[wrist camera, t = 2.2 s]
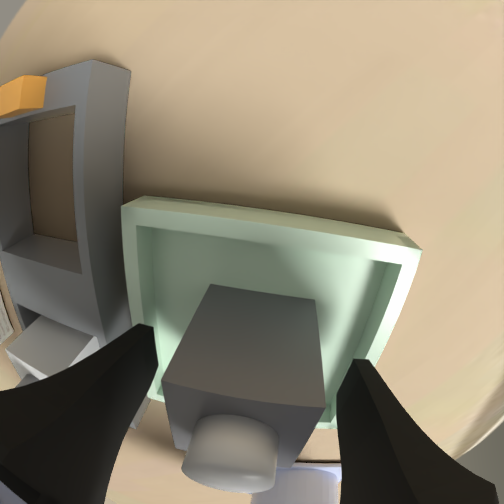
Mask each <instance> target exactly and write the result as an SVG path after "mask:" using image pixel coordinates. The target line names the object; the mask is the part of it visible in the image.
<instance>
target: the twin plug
mask: <svg viewBox="0 0 504 504" xmlns="http://www.w3.org/2000/svg"><path fill="white" fill-rule="evenodd" d="M99 349H100V347H99V343H98V340H97V337H95V336H92V335H90V334H87V333H84V332H82V331H79V330H76V329H74V328H71V327H69V326H66V325H64V324H62V323H59V322H57V321H54V320H52V319H50V318H47V317H45V316H43V315H41V316H40V317H38V318H37V319H36V320H35V321H34V322H33V323H32V324H31V325H30V326H29V327H28V328H26V329H25V330H24V331H23V332H22V333H21V334H20V335H19V336H18V337H17V338H16V339H15V340H14V341H13V342H12V343H11V344H10V345H9V346H8V347H7V348H6V349H5V350H6V352H7V354H8V356H9V358H10V360H11V362H12V364H13V366H14V367H15V369H16V371H17V373H18V375H19V376H20V378H21V381H20V382H19V384H18V385H17V386H16V387H15V388H17V387H21V386H24V385H27V384H30V383H33V382H36V381H39V380H41V379H44V378H47V377H49V376H51V375H54V374H56V373H58V372H60V371H62V370H64V369H66V368H68V367H70V366H72V365H74V364H76V363H77V362H79V361H81V360H83V359H84V358H86V357H88V356H89V355H91V354H93V353H94V352H96V351H98V350H99Z"/></svg>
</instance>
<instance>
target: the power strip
mask: <svg viewBox="0 0 504 504" xmlns="http://www.w3.org/2000/svg"><path fill="white" fill-rule="evenodd" d="M130 77H131V71H129V70H126V69H123V68H120V67H117V66H114V65H110V64H107V63H104V62H100V61H97V60H93V59H92V60H89V61H85V62H81V63H78V64H74V65H71V66H68V67H64V68H61V69H58V70H55V71H52V72H50V73H47V74H44V75H41V76H31V75H23V76H21V77H18V78H16V79H14V80H12V81H10V82H8V83H6V84H4V85H2V86H0V260H1V264H2V268H3V272H4V276H5V280H6V283H7V287H8V290H9V293H10V296H11V299H12V303H13V305H14V308H15V311H16V314H17V317H18V320H19V322H20V325H21V327H22V330H23V331H24V330H25V329H26V328H28V327H29V326H30V325H31V324H32V323H33V322H34V321H35V320H36V319H37V318H38V317H40V316H41V315H43V316H45V317H47V318H50V319H52V320H54V321H57V322H59V323H62V324H64V325H66V326H69V327H71V328H74V329H76V330H79V331H82V332H84V333H87V334H90V335H92V336H95V337H97V340H98V343H99V347H100V349H101V348H102V347H104V346H105V345H107V344H108V343H110V342H111V341H113V340H114V339H116V338H117V337H119V336H120V335H122V334H123V333H125V332H126V331H127V330H129V329H130V328H132V327H133V326H132V320H131V314H130V307H129V300H128V292H127V284H126V275H125V266H124V254H123V241H122V223H121V206H122V205H123V156H124V136H125V122H126V110H127V101H128V92H129V84H130ZM74 113H75V120H74V137H73V191H74V209H75V221H76V231H77V240H78V242H73V241H68V240H63V239H58V238H53V237H48V236H43V235H38V234H34V231H33V223H32V215H31V206H30V194H29V178H28V133H29V123H30V122H34V121H39V120H43V119H48V118H53V117H58V116H63V115H69V114H74ZM149 402H150V398H148V396H147V395H146V396H145V398H144V400H143V402H142V404H141V406H140V408H139V409H138V411H137V413H136V415H135V417H134V419H133V421H132V422H131V424H130V426H129V427H131V428H134V429H137V427H138V425H139V423H140V421H141V419H142V417H143V415H144V413H145V410H146V408H147V406H148V404H149Z"/></svg>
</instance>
